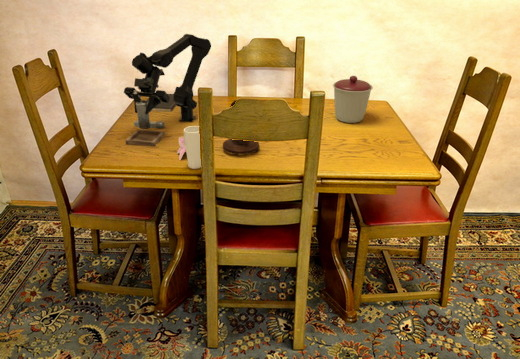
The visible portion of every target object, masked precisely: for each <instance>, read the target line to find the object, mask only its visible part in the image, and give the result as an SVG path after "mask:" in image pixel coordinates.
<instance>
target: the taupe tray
mask: <svg viewBox="0 0 520 359" xmlns="http://www.w3.org/2000/svg"><path fill="white" fill-rule="evenodd" d="M165 136H166V132H165V131H164V130H152V129H151V130H150V129H140V128H139V129H138V128H137V129H136V130H135V131H134V132H133V133H132V134H130V135H129V136H128V137H127V138H126V139H125V141H124V142H125V145H128V146H142V147H152V148H153V147H154V148H155V147H156V146H157V145H158V143H160V141H161V140H162V139H163V138H164V137H165Z"/></svg>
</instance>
